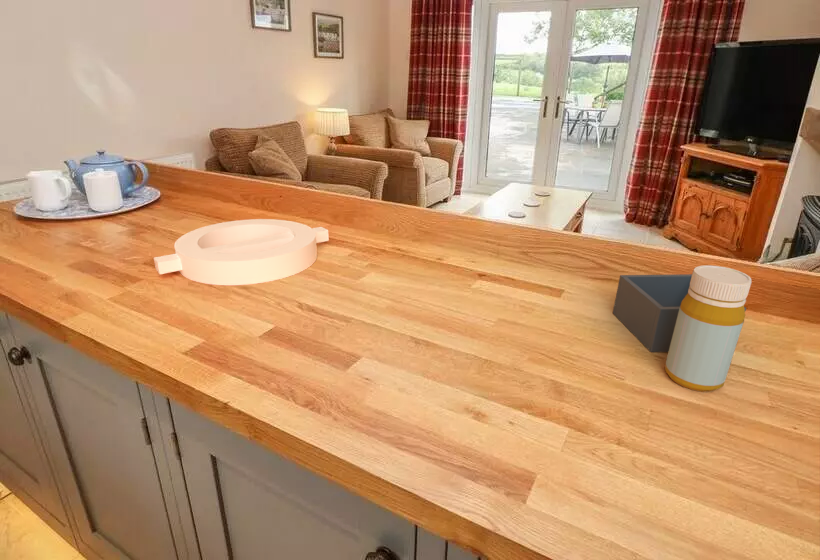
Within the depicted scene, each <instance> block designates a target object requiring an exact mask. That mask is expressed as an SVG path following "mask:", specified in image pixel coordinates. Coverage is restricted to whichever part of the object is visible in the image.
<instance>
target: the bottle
mask: <svg viewBox="0 0 820 560" xmlns="http://www.w3.org/2000/svg"><path fill="white" fill-rule="evenodd" d="M752 281H753V280H752V277H751V276H750V275H748V274H747V273H745V272H743V271H740V270H737V269H734V268H731V267H727V266H720V265H711V264H705V265H704V264H703V265H698V266H696V267H694V269H693V270H692V277H691V281H690V286H689V290H688V294H687V295H686V296H685V298H684V299H683V300H682V302H681V305H680V308H679V312H678V316H677V320H676V324H675V328H674V332H673V336H672V340H671V344H670V348H669V352H667V356H666V359H665V360H666V361H665V365H664V369H665V372H666V374H667V375H668V377H669V378H670V379H671V380H672V381H673V382H674V383H675V384H677V385H679V386H681V387H683V388H686V389H689V390H691V391H696V392H705V393H708V392H714V391H716V390H719V389H721V388H722V387H724V384H725V382H726V379H727V376H728V374H729V370H730V368H731V367H730V366H731V364H732V360H733V357H734V355H735V351H736V348H737V344H738V341H739V339H740V335H741V332H742V329H743V325H744V322H745V318H746V311H745V309H744V307H745V304H746V302H747V298H748V295H749V293H750V289H751V286H752Z"/></svg>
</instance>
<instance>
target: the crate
mask: <svg viewBox="0 0 820 560" xmlns="http://www.w3.org/2000/svg"><path fill="white" fill-rule="evenodd" d="M691 277H692V274H691V273H690V274H689V273H688V274H687V273H686V274H679V273H677V274H620V275H619V277H618V284H617V289H616V293H615V298H614V305H613V309H612V314H613V315H614V316H615V317H616V319H618V320H619V321H620V323H622V324H623V325H624V326H625V328H626V329H627V330H628V331H630V332H631V334H633V336H634V337H635V338H636V339H637V340H638V341H639V342H640V343H641V344H642V345H643V346H644V347H645V348H646V349H647V350H648V351H649V352H650V353H668V352H669V348H670V344H671V340H672V336H673V332H674V328H675V324H676V320H677V316H678V312H679V308H680V305H681V302H682V300H683V299H684V298H685V296H686V295H687V294H688V290H689V286H690V281H691ZM744 309H745V312H746V311H747V307H746V306H744Z"/></svg>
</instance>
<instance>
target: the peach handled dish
mask: <svg viewBox="0 0 820 560" xmlns="http://www.w3.org/2000/svg"><path fill="white" fill-rule="evenodd" d="M329 241H330V238H329V229H328V228H325V227H323V226H317V227H313V228H312V227H310V226H309V225H307V224H304V223H301V222H297V221H293V220H286V219H275V218H274V219H273V218H253V219H252V218H250V219H249V218H248V219H238V220H230V221H223V222H217V223H213V224H209V225H206V226H205V225H204V226H201V227H199V228H196V229H193V230H191V231H188V232H187V233H184V234H183V235H181V236H179V237H178V239H176V240H175V242H174V245H173V247H174V252H175V253H171V254H165V255H161V256H155V257H153V261H154V266H155V270H156V271H157V273H158V274H159V275H163V274H170V273H174V272H179V274H180V275H182V276H183V277H184V278H186V279H187V280H191V281H193V282H197V283H200V284H206V285H213V286H247V285H248V286H249V285H256V284H263V283H269V282H274V281H278V280H282V279H285V278H289V277H292V276H294V275H297V274H299V273H301V272H304V271H306V270H307V269H308V268H310V267H311V266H313V264H315V263H316V261H317V259H318V250H317V249H318V247H317V244H320V243H324V242H329Z"/></svg>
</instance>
